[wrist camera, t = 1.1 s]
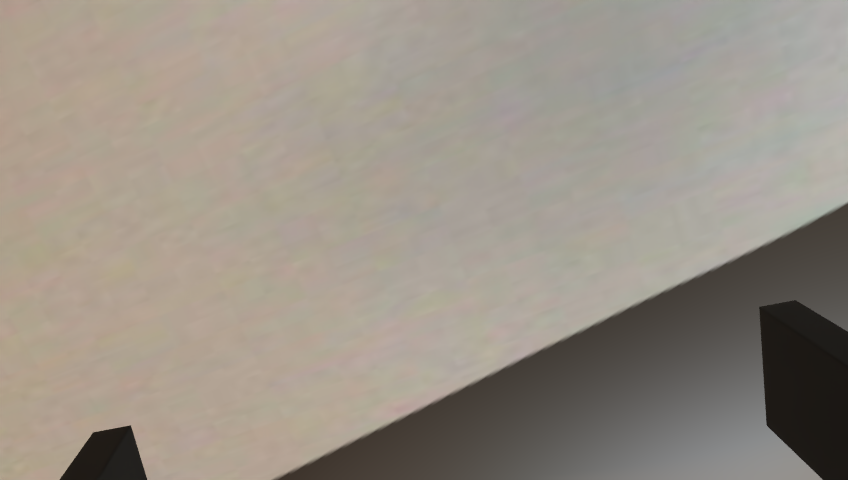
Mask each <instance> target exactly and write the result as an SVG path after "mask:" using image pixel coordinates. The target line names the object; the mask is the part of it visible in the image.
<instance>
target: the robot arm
mask: <svg viewBox="0 0 848 480" xmlns="http://www.w3.org/2000/svg"><path fill="white" fill-rule="evenodd" d="M759 309H760V325H761V341H762V356H763V373H764V388H765V404H766V421H767V426H768V427H769V428H770V429H771V430H772V431H773V432H774V433H775V434H776V435H777V436H778V437H779V438H780V439H781V440H783V442H784V443H785V444H787V445H788V446H789V447H790V448H791V449H792V450H793V451H794V452H795V453H796V454H797V455H798V456H799V457H800V458H801V459H802V460H803V461H804V462H805V463H806V464H807V465H809V467H810V468H811V469H813V470H814V471H815V472H816V473H817V474H818V475H819V476H820V477H821V478H822V479H823V480H848V332H847V331H845V330H844V329H842V328H841V327H839V326H837V325H836V324H834V323H832V322H831V321H829V320H827V319H826V318H824V317H822V316H821V315H819V314H817V313H815V312H814V311H812V310H811V309H809V308H807V307H806V306H804V305H802V304H801V303H799V302H797V301H795V300H794V301H789V302H783V303H779V304H773V305H767V306H762V307H760V308H759ZM60 480H147V478H146V474H145V471H144V468H143V464H142V461H141V458H140V455H139V451H138V448H137V445H136V441H135V438H134V435H133V431H132V428H131V426H125V427H120V428H115V429H109V430H104V431H99V432H94V433H93V434H92V435H91V437H90V438H89V439H88V441H87V442H86V444H85V445H84V446H83V448H82V449H81V451H80V452H79V453H78V455H77V456H76V458H75V459H74V460H73V462H72V463H71V465H70V466H69V467H68V469H67V470H66V472H65V473H64V474H63V476H62V477H61V479H60Z"/></svg>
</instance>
